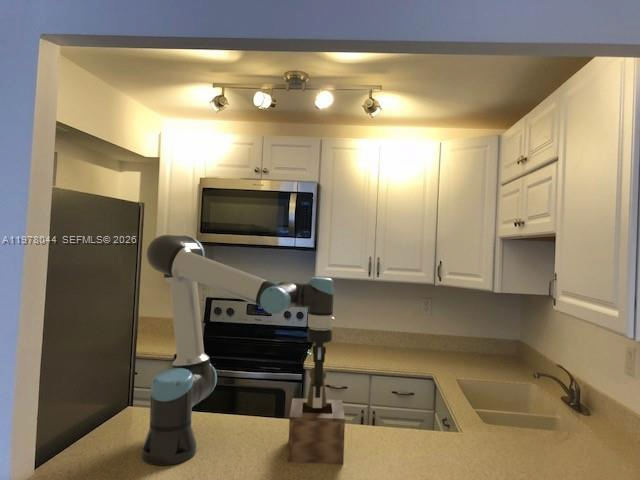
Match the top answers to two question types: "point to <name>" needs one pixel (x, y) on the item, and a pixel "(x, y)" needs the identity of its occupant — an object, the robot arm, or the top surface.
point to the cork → (310, 395)
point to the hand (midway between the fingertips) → (317, 403)
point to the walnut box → (316, 432)
